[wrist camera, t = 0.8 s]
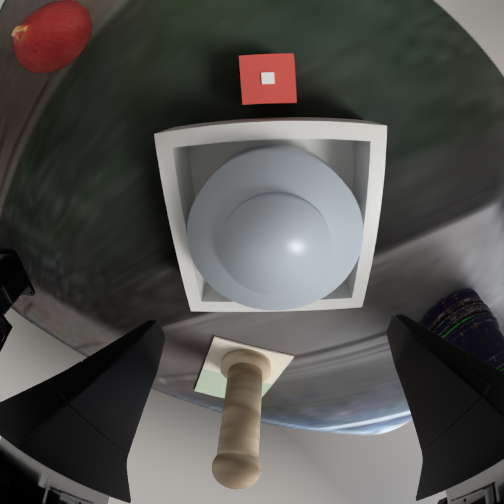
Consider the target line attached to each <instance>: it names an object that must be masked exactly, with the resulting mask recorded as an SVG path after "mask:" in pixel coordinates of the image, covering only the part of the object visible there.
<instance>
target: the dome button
mask: <svg viewBox="0 0 504 504" xmlns="http://www.w3.org/2000/svg"><path fill="white" fill-rule="evenodd" d="M363 232H364V231H363V220H362V216H361V211H360V208H359V206H358V203H357V201H356V199H355V197H354V196H353V194H352V192H351V190H350V189H349V188H348V187H347V185H346V184H345V183H344V182H343V181H342V179H341V178H340V177H339V176H338V175H337V174H336V173H335V171H334V170H333V169H332V168H331V167H330V166H329V165H328V164H327V163H325V162H324V161H323V160H322V159H320V158H319V157H317V156H316V155H314V154H312V153H310V152H308V151H306V150H303V149H300V148H297V147H293V146H288V145H278V144H270V145H261V146H256V147H252V148H249V149H246V150H244V151H241V152H239V153H237V154H236V155H234V156H232V157H230V158H229V159H228V160H226V161H225V162H224V163H222V164H221V165H220V166H219V167H218V168H217V169H216V171H215V172H214V173H213V174H212V176H211V177H210V178H209V180H208V181H207V182H206V184H205V185H204V187H203V188H202V189H201V191H200V192H199V194H198V195H197V197H196V199H195V201H194V203H193V205H192V208H191V211H190V214H189V218H188V224H187V241H188V247H189V251H190V255H191V257H192V260H193V262H194V264H195V266H196V268H197V269H198V271H199V273H200V274H201V276H202V277H203V278H204V279H205V281H206V282H207V283H208V284H209V285H210V286H211V287H212V288H214V289H215V290H216V291H217V292H219V293H220V294H221V295H223V296H225V297H226V298H228V299H230V300H232V301H234V302H236V303H238V304H241V305H244V306H247V307H251V308H255V309H261V310H289V309H294V308H299V307H302V306H306V305H309V304H311V303H314V302H316V301H318V300H320V299H322V298H324V297H325V296H327V295H328V294H330V293H331V292H333V291H334V290H335V289H336V288H337V287H338V286H340V285H341V284H342V282H343V281H344V280H345V279H346V278H347V277H348V275H349V274H350V273H351V271H352V270H353V268H354V266H355V264H356V262H357V260H358V257H359V255H360V252H361V248H362V243H363Z"/></svg>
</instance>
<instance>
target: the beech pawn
mask: <svg viewBox="0 0 504 504" xmlns="http://www.w3.org/2000/svg"><path fill="white" fill-rule="evenodd" d="M220 370H221V373H222V375H223V376H224V377H225V378H226V379H227V384H226V392H225V399H224V406H223V413H222V420H221V428H220V435H219V443H218V450H217V456H216V457H215V459H214V460H213V463H212V473H213V475H214V477H215V479H216V480H217V481H218V482H219V483H220V484H221V485H223V486H225V487H227V488H231V489H243V488H247V487H249V486H251V485H253V484H254V483H255V482H256V481H257V479H258V478H259V476H260V473H261V465H260V462H259V460H258V455H259V437H260V417H261V396H262V382H264V381H265V380H267V379H268V378H269V376H270V374H271V362H270V360H269V358H268V357H267V356H266V355H264V354H262V353H260V352H258V351H255V350H249V349H238V350H233V351H230V352H228V353H227V354H225V355H224V356H223V358H222V363H221V369H220Z"/></svg>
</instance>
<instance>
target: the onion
mask: <svg viewBox="0 0 504 504" xmlns="http://www.w3.org/2000/svg"><path fill="white" fill-rule="evenodd" d="M91 27H92V23H91V19H90V15H89V12H88V10H87V9H86V8H84V7H83V6H82V5H81V4H79V3H78V2H77V1H72V0H64V1H55V2H51V3H48V4H46V5H44V6H42V7H41V8H39V9H37V10H35V11H34V12H33V13H31V14H30V15H29V16H28V17H27V18H26V19H25V20H24V21H23V22H22V24H21V25H20V26H16V27H15V28H14V30H13V32H12V34H11V36H12V38H13V50H14V53H15V56H16V58H17V59H18V61H19V62H20V63H21V65H22V66H23V67H24V68H25V69H27V70H28V71H30V72H33V73H50V72H53V71H56V70H59V69H61V68H64V67H66V66H67V65H68V64H70V63H71V62H72V61H73V60H74V59H76V58H77V57H78V56H79V55H80V53H81V52H82V51H83V49H84V48H85V47H86V45H87V42H88V40H89V38H90V35H91Z"/></svg>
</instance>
